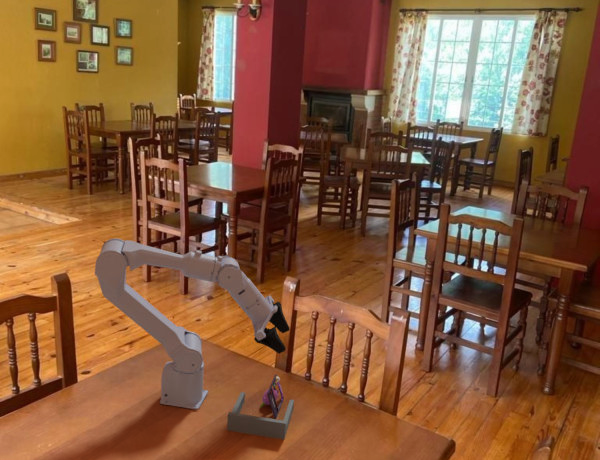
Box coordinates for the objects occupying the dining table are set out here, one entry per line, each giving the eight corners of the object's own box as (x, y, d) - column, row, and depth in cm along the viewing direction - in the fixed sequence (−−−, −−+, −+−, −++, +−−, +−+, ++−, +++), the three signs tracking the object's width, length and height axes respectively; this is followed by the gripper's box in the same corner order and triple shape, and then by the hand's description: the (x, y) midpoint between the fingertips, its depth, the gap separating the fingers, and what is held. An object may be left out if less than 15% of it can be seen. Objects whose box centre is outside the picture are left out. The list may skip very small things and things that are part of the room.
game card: (271, 392, 132) (279, 373, 140) (250, 396, 133) (259, 376, 141) (279, 418, 133) (286, 398, 141) (258, 421, 134) (266, 401, 143)
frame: (226, 430, 127) (227, 414, 126) (240, 401, 139) (241, 386, 138) (284, 439, 126) (285, 423, 125) (293, 409, 137) (294, 394, 136)
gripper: (259, 312, 127) (294, 354, 131) (269, 276, 139) (300, 316, 144) (234, 325, 129) (269, 365, 134) (246, 289, 142) (278, 327, 146)
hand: (284, 340), depth 139 cm, fingers open, 7 cm apart
